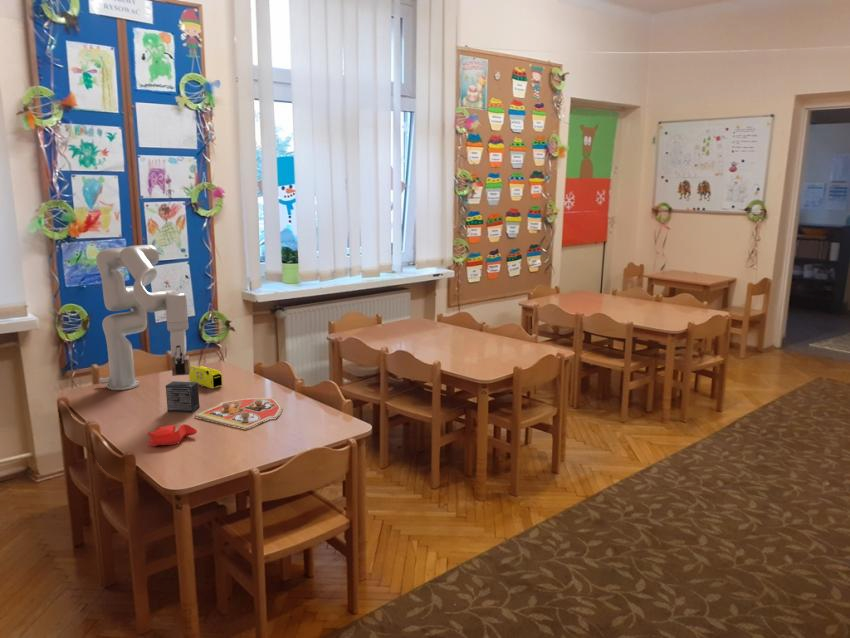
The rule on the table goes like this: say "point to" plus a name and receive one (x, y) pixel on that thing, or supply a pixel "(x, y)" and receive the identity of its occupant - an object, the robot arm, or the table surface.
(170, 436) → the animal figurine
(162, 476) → the table surface
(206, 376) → the yellow toy chassis
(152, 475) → the table surface
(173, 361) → the walnut cube
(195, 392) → the small box
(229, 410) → the knob puzzle
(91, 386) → the table surface
